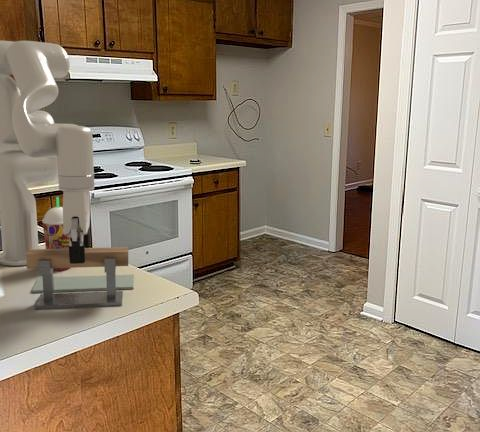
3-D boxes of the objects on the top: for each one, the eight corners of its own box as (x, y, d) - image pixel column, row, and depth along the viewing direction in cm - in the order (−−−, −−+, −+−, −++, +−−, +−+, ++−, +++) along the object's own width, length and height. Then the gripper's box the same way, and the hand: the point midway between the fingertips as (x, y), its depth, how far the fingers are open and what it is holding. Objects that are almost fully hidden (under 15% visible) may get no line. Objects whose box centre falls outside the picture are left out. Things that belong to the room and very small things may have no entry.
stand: (40, 297, 117) (38, 251, 115) (122, 293, 121) (122, 249, 118) (34, 309, 110) (31, 260, 108) (121, 305, 114) (121, 258, 112)
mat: (39, 279, 128) (39, 277, 128) (133, 276, 133) (133, 274, 133) (32, 292, 119) (31, 290, 119) (133, 289, 124) (133, 286, 124)
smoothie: (66, 273, 133) (63, 201, 129) (38, 270, 135) (34, 198, 130) (82, 264, 141) (79, 195, 137) (55, 261, 143) (52, 193, 138)
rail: (30, 263, 113) (29, 249, 112) (128, 261, 118) (128, 247, 117) (27, 268, 110) (26, 253, 109) (128, 266, 114) (128, 251, 113)
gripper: (64, 177, 117) (67, 246, 120) (52, 189, 100) (56, 269, 104) (97, 177, 118) (99, 245, 122) (90, 188, 102) (93, 267, 105)
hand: (80, 256), depth 113 cm, fingers open, 9 cm apart
